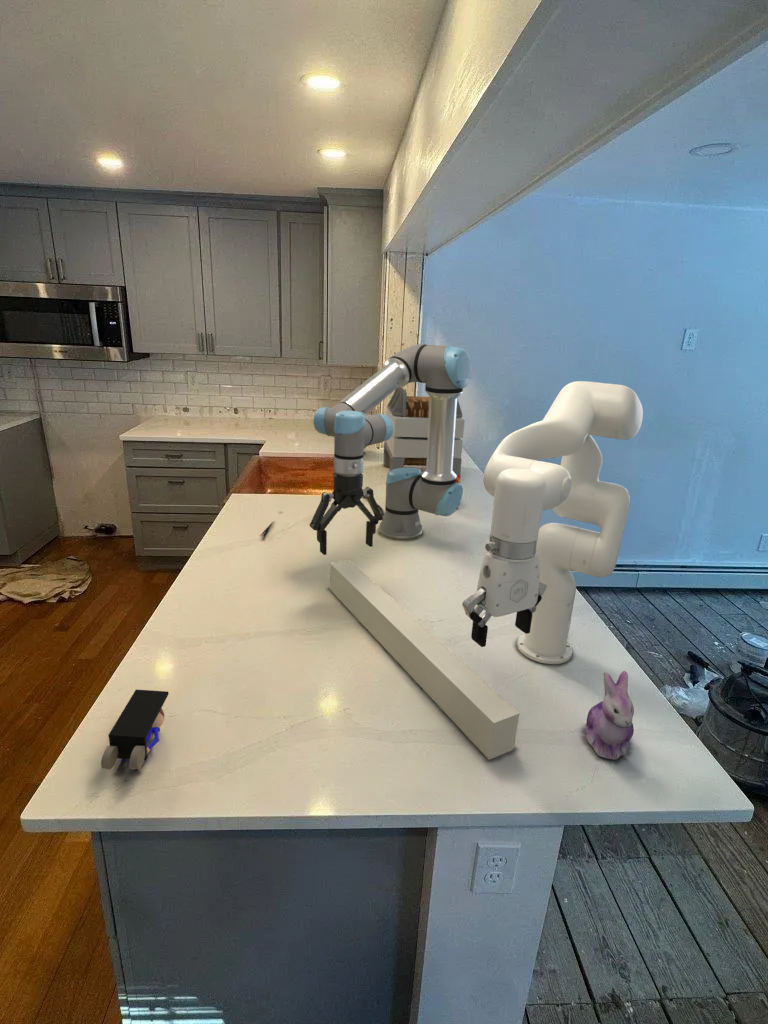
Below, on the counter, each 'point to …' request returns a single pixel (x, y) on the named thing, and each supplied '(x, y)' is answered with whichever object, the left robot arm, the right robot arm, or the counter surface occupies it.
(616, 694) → the figurine
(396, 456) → the grey slatted crate
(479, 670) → the counter surface
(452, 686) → the bar
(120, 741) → the figurine character
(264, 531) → the feather
